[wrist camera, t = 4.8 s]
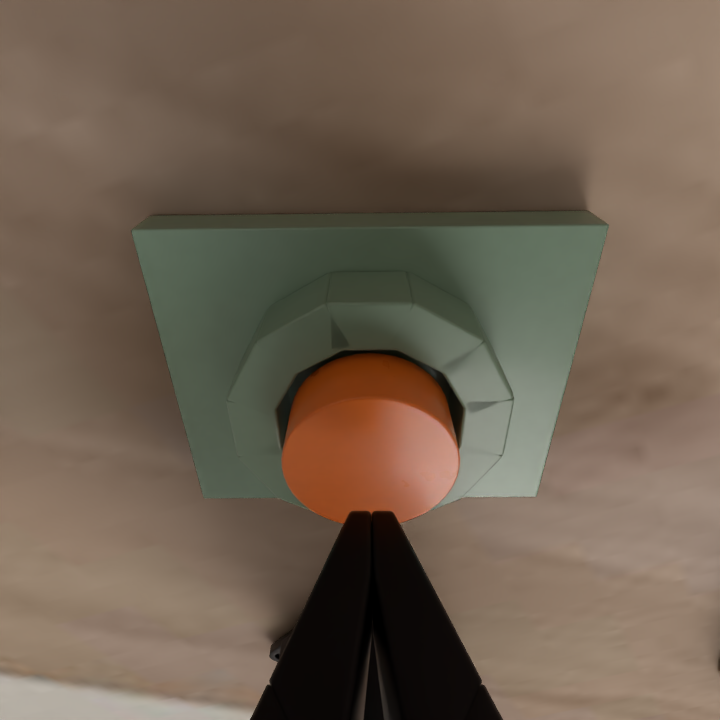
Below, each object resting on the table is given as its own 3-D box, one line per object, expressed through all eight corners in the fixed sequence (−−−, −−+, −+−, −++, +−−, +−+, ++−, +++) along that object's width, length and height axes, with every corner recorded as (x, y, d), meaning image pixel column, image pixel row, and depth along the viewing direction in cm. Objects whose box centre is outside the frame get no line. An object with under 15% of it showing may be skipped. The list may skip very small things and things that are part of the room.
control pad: (588, 210, 12) (650, 251, 9) (526, 470, 17) (555, 544, 14) (149, 214, 12) (92, 257, 9) (213, 472, 17) (186, 546, 14)
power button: (455, 351, 11) (470, 395, 10) (442, 474, 13) (452, 527, 12) (283, 352, 11) (271, 398, 10) (298, 475, 13) (289, 528, 12)
